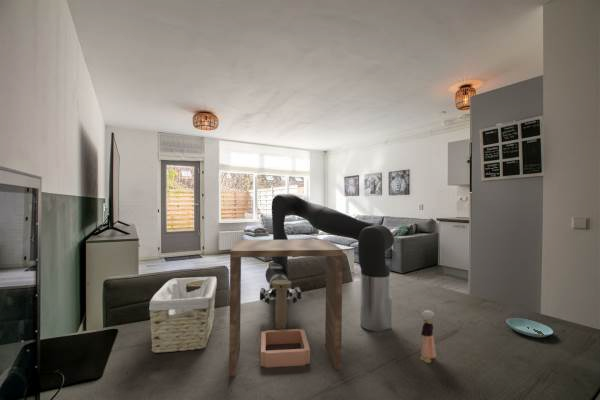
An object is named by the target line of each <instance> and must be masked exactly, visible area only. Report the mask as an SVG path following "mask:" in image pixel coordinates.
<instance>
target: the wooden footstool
mask: <svg viewBox="0 0 600 400" xmlns="http://www.w3.org/2000/svg"><path fill="white" fill-rule="evenodd" d="M229 253H230V254H229V255H230V259H229V260H230V262H229V265H230V266H229V267H230V268H229V334H228V335H229V339H228V340H229V341H228V342H229V345H228V347H229V351H228V352H229V353H228V354H229V355H228V358H229V360H228V368H229V369H228V377H236V376H237V369H238V365H239V364H238V363H239V358H240V351H241V313H242V312H241V310H242V309H241V303H242V302H241V299H242V298H241V297H242V296H241V293H242V292H241V290H242V285H241V284H242V283H241V282H242V258H270V257H271V258H272V257H293V258H294V257H325V319H324V320H325V321H324V322H325V326H324V327H325V328H324V329H325V330H324V333H325V334H324V335H325V336H324V339H325V341H324V346H325V349H326V351H327V352H328V353H327V354H328V356H329V358H330V361H331V363H332V366H333V368H334V370H335V371H339V370H340V371H341V370H342V339H343V338H342V335H343V334H342V328H343V327H342V326H343V324H342V323H343V318H342V317H343V314H342V313H343V249H342V248H340V246H337V244H335V243H333V242H331V241H330V240H328V239H288V240H273V239H237V240H236V242H235V243H234V245H233V246H232V248H231V249H230V251H229Z"/></svg>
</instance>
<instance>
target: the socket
mask: <svg viewBox="0 0 600 400" xmlns="http://www.w3.org/2000/svg"><path fill="white" fill-rule="evenodd" d="M260 333H261V335H260V339H261V340H260V367H265V368H276V367H278V368H279V367H280V368H281V367H294V366H295V367H296V366H305V365H306V364H308V365H309V364H310V363H311V359H310V358H311V348H310V345H309V341H308V338H307V335H306V332H305V329H300V328H296V329H294V328H293V329H283V330H279V329H271V330H265V331H261V332H260ZM282 344H283V345H286V344H300V347H301V348H296V349H295V348H293V349H290V348H289V349H275V350H274V349H273V350H272V349H271V350H266V347H267V345H282Z"/></svg>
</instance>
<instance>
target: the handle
mask: <svg viewBox="0 0 600 400" xmlns="http://www.w3.org/2000/svg"><path fill="white" fill-rule="evenodd" d="M272 287H273V288H275V289H276V299H275V308H274V317H275V328H276V330H287V329H286V328H287V322H288V299H287V289H288V288H292V281H291V280H290V279H289V280H274V281H272Z"/></svg>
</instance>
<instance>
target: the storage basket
mask: <svg viewBox="0 0 600 400" xmlns="http://www.w3.org/2000/svg"><path fill="white" fill-rule="evenodd" d="M217 283H218V282H217V277H216V276H199V277H196V276H195V277H182V278H181V277H180V278H177V277H176V278H175V277H173V278H171V279H169V280H168V281H166V282H165V283H164V284H163V285H162V286H161V288H159V289H158V291H157V292H155V293H154V295H153V296H152V298H151V299H150V301H149V308H148V311H149V318H150V320H149V321H150V332H151V347H152V348H151V349H150V351H152V352H153V353H157V354H158V353H168V352H171V353H173V352H174V353H175V352H179V351H180V352H185V351H194V350H201V349H204V348H206V347H207V343H208V341H209V338H210V335H211V333H212V329H213V323H214V318H215V303H216V292H217V291H216V290H217V286H218V285H217ZM187 287H199V288H197V289H195V290H191V291H189V292H188V291H187Z"/></svg>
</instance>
